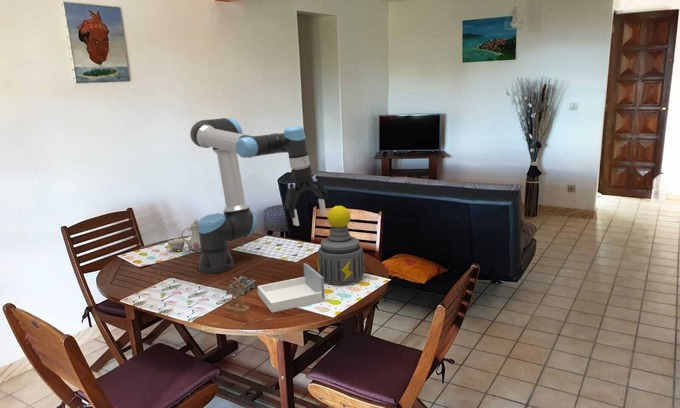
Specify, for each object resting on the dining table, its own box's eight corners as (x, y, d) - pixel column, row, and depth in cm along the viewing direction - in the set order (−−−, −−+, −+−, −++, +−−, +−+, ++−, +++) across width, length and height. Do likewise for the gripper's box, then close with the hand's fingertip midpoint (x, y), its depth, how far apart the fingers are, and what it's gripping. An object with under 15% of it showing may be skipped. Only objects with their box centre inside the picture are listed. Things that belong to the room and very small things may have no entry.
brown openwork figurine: (224, 309, 178) (221, 277, 175) (231, 305, 181) (228, 274, 178) (243, 313, 173) (240, 281, 171) (250, 309, 177) (248, 277, 174)
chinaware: (216, 242, 264) (212, 212, 261) (230, 246, 251) (226, 213, 248) (164, 255, 247) (159, 222, 244) (177, 259, 234) (171, 225, 231)
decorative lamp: (324, 289, 192) (320, 213, 185) (313, 272, 210) (310, 203, 203) (370, 282, 197) (368, 208, 190) (356, 267, 214) (354, 199, 208)
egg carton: (244, 284, 201) (243, 274, 200) (258, 287, 197) (257, 277, 197) (225, 293, 192) (224, 283, 191) (240, 296, 189) (239, 286, 188)
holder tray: (257, 294, 189) (256, 272, 187) (307, 284, 197) (305, 263, 195) (271, 312, 173) (270, 288, 171) (324, 300, 181) (323, 277, 179)
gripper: (279, 175, 180) (290, 231, 186) (331, 160, 195) (340, 211, 201) (268, 174, 186) (279, 228, 191) (320, 159, 201) (328, 209, 206)
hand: (310, 219), depth 196 cm, fingers open, 13 cm apart
